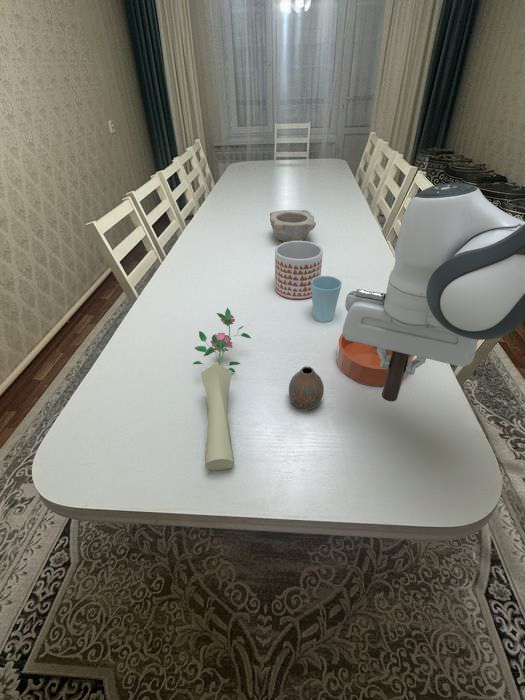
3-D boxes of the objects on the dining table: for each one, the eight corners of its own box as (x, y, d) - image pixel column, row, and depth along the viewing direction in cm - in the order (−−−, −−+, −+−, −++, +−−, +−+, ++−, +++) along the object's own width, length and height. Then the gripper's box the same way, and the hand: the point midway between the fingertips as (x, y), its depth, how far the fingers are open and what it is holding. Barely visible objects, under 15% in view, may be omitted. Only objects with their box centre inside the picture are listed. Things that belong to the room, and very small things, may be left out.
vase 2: (284, 303, 104) (285, 262, 96) (268, 283, 114) (268, 244, 106) (327, 295, 107) (331, 254, 99) (308, 275, 117) (310, 237, 109)
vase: (325, 394, 75) (328, 362, 69) (318, 418, 70) (321, 386, 64) (293, 387, 77) (294, 355, 71) (284, 410, 72) (284, 378, 66)
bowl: (413, 350, 85) (418, 333, 82) (404, 395, 74) (409, 377, 71) (346, 335, 91) (348, 318, 88) (328, 374, 80) (330, 357, 76)
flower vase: (207, 486, 67) (205, 344, 89) (269, 472, 65) (252, 330, 87) (176, 466, 58) (183, 313, 80) (247, 449, 56) (234, 297, 78)
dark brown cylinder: (398, 393, 67) (414, 336, 59) (396, 403, 65) (412, 345, 57) (383, 389, 68) (397, 332, 60) (380, 399, 66) (394, 341, 58)
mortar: (316, 246, 136) (317, 222, 130) (271, 248, 135) (271, 224, 130) (309, 231, 149) (310, 208, 143) (268, 232, 148) (268, 209, 143)
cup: (307, 323, 96) (309, 288, 89) (310, 308, 101) (312, 274, 95) (336, 326, 94) (340, 291, 88) (337, 310, 100) (341, 276, 94)
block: (389, 347, 86) (392, 335, 83) (387, 356, 83) (390, 344, 81) (374, 344, 87) (376, 332, 84) (372, 353, 84) (374, 341, 82)
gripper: (342, 296, 55) (333, 364, 64) (491, 324, 48) (459, 397, 57) (352, 278, 60) (343, 344, 68) (490, 302, 53) (460, 372, 61)
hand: (397, 368), depth 63 cm, fingers closed on dark brown cylinder, 3 cm apart
